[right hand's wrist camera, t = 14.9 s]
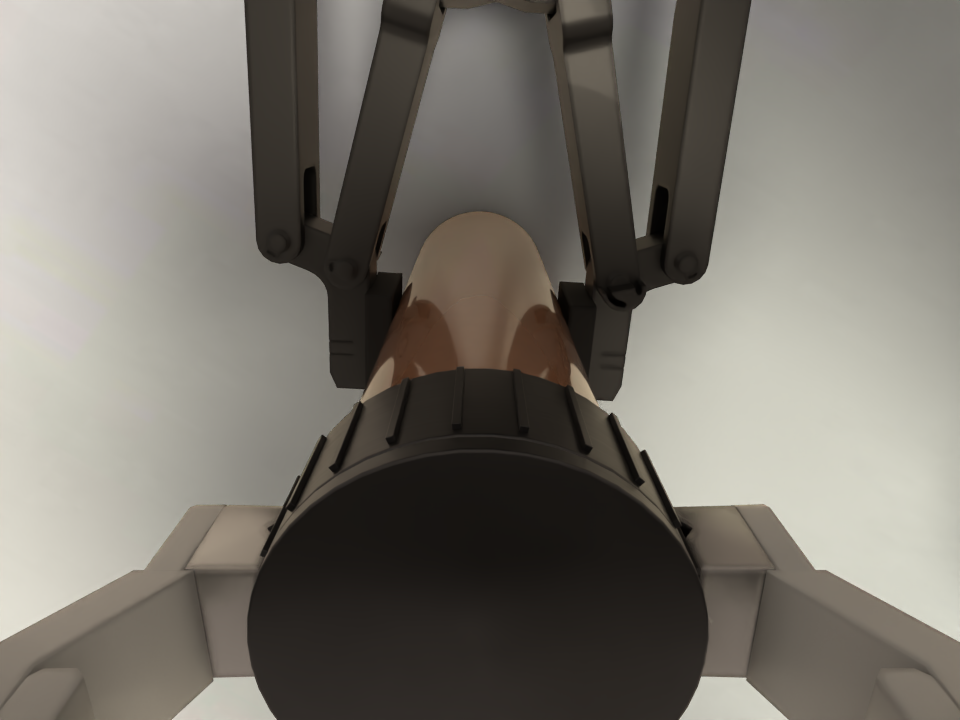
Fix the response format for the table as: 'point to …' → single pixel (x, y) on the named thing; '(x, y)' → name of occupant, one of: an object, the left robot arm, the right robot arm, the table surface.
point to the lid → (477, 565)
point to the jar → (479, 310)
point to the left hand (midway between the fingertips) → (470, 477)
